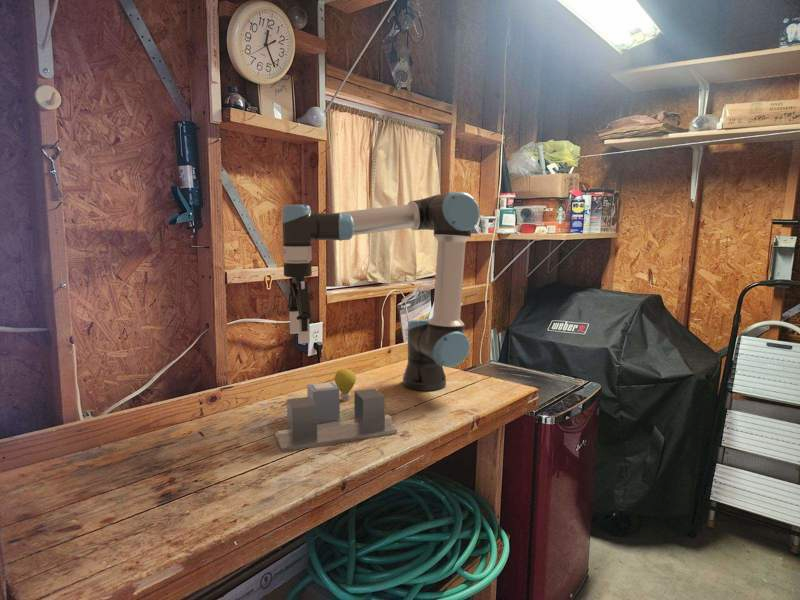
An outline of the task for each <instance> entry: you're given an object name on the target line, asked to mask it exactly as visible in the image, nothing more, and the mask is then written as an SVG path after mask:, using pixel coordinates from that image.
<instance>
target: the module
mask: <svg viewBox="0 0 800 600" xmlns="http://www.w3.org/2000/svg"><path fill="white" fill-rule="evenodd" d="M306 390H307V392H306V393H307V396H306V397H311V399H312V400H313V401H314V403H315V404H316V408H317V424H319V423H325V422H332V421H333V422H334V421H338V420H340V418H341V415H340V414H341V411H340V409H341V407H340V406H341V405H340V403H341V402H340V399H341V398H340V390H339V388H338V387H337V385H336V383H335V382H334V381H329V382H328V381H327V382H319V383H318V382H317V383H310V384H307V385H306Z"/></svg>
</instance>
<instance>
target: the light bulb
mask: <svg viewBox="0 0 800 600" xmlns="http://www.w3.org/2000/svg"><path fill="white" fill-rule="evenodd" d="M356 380H357V379H356V375H355V372H354V371H353V370H351V369H350V368H341V369H339V370H338V371H337V372H336V373H335V375H334V384H335V385H336V386H337V387H338V388H339V398H341V401H342V402H347V401H350V397H351V391H352V389H353V387H354V386H355V383H356Z"/></svg>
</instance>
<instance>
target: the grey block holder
mask: <svg viewBox="0 0 800 600" xmlns="http://www.w3.org/2000/svg"><path fill="white" fill-rule="evenodd" d="M353 395H354V396H353V397H354V398H353V399H354V403H353V404H354V409H353V411H354V419H350V420H342V421H335V422H329V423H322V424H318V423H317V408H316V404H315V403H314V401H313V400H312V399H311V397H308V396H304V397H296V398H290V399H286V416H287V417H286V419H287V422H286V423H287V424H286V425H287V429H282V430H277V431H276V432H275V433H274V437H275V440H276V442H277V444H278V447H279V450H280V452H281V453H286V452H291V451H298V450H303V449H310V448H317V447H322V446H329V445H334V444H341V443H347V442H355V441H359V440H364V439H370V438H378V437H382V436H390V435H395V434H398V429H397V428H396V427H395V426H394V425H393V417H392V416H391V414H385V413H386V412H385V411H386V409H385V407H386V406H385V405H386V404H385V401H386V399H385V398H386V397H385V395H384V394H383V393H382V392H380V391H379V390H378V389H376V388H369V389H362V390H361V389H359V390H355V391H354V390H353Z"/></svg>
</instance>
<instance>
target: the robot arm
mask: <svg viewBox="0 0 800 600" xmlns="http://www.w3.org/2000/svg"><path fill="white" fill-rule="evenodd" d="M479 219H480V207H479V204H478V203H477V201H476V199H475V198H474V197H473V196H472V195H470V194H469V193H467V192H464V191H452V192H451V191H450V192H448V193H441V194H435V195H431V196H429V197H426V198H425V197H424V198H422V199H416V200H410V201H409V202H408V203H407V204H402V205H394V206H384V207H375V208H366V209H358V210H350V211H349V210H348V211H340V212H330V213H329V212H321V213H320V212H312V210H311V206H310V205H308V204H285V205H284V206H283V207H282V220H281V225H282V243H283V244H282V246H283V247H282V250H281V251H280V253H281V254H283V261H284V263H283V276H284V277H286V278H289V279H288V281H289V282H288V285H289V286H288V300H287V308H288V311H289V334H290V335H294V334H295V335H296V334H298V344H300V345H301V344H309V343H310V318H312V313H311V307H310V297H309V296H310V295H309V288H308V286H309V282H308V281H307V280H305V278H307V277H308V278H309V277H311V276H312V275H313V274H312V273H313V272H312V271H313V268H312V263H311V261H312V257H313V256H312V241H339V242H342V241H349V240H352V238H353V236H358V235H367V234H373V233H374V234H375V233H381V232H388V231H389V232H390V231H396V230H404V229H411V230H412V231H420V230H421V231H423V230H424V231H425V230H429V231H433V237H434V238H435V239H436V241H437V250H436V266H435V267H436V268H435V280H434V281H435V282H434V297H433V314H432V317H431V318H421V319H420V318H419V319H412V320H410V321H408V324H407V364H406V367H405V371H404V373H403V377H402V385H403V387H404V388H406V389H411V390H414V391H422V392H423V391H424V392H425V391H426V392H427V391H428V392H429V391H437V390H441V389H443V388H446V386H447V376H446V373H445V371H444V367H446V368H454V367H457V366H458V365H461V364H462V363H463V361H465V360H466V358H467V357H468V355H469V352H470V348H471V347H470V341H469V338H468V337H467V335H466V334H465V322H463V321H462V319H461V312H462V298H463V297H462V296H463V283H464V270H465V269H464V268H465V255H466V244H467V242H468V241H469V240H470V239H471V237H472V229H474V228H475V226H476V225H477V224H478V223H479Z"/></svg>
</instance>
